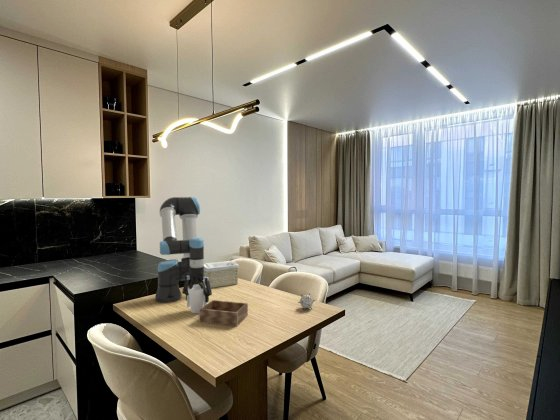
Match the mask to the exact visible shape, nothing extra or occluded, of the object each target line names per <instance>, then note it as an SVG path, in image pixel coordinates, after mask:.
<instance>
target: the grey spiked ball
mask: <svg viewBox="0 0 560 420" xmlns="http://www.w3.org/2000/svg"><path fill="white" fill-rule="evenodd" d="M300 296H301V298H300V299H299V301H298V302H297V304H300V306H301V307H302V310H303V311H304V310H305V309H311V310H312V309H313V308H312V306H313V304H314V302H316V300H314V299H313V298H312V296H311V294H310V293H308V294H300Z"/></svg>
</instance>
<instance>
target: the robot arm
mask: <svg viewBox="0 0 560 420" xmlns="http://www.w3.org/2000/svg"><path fill="white" fill-rule="evenodd" d="M200 213H201V208H200V202H199V199H198V198H197V197H192V196H188V197H187V196H184V197H183V196H181V197H180V196H179V197H178V196H174V197H169V198H167V199H166V200H165V201H163V203H162V204H161V205H160V208H159V216H160V217H161V227H162V228H161V229H162V231H161V232H162V241H160V242H159V253H160V255H161V256H163V255H164V256H165V255H166V256H168V255H169V256H170V255H179V254H180V255H182V254H183V256H182V257H181V258H180V260H181V261H179V260H178V259H176V258H175V259H167V260H164V261H160V262H159V263H158V265H157V289H156V293H155V296H154V300H155V301H156V302H158V303H173V302H175V301H178V300H179V301H180V299H182V294H184V295H185V301H186V308H191V307H190V300H189V293H188V288H189V289H192V287H193V286H194V285H199V286H200V287H201V289H203V293H204V295H205V296H204V306H205V305H207V304H208V303H209V302H210V299H209V297H210V296H212V294H213V293H212V288H211V287H210V283H209V277H204V267H203V266H204V263H205V259H204V258H205V256H204V255H205V252H204V251H205V250H204V249H205V247H204V246H205V243H204V238H202V237H197V224H196V223H197V222H196V219H197V218H198V215H200ZM176 216H179V219H180V220H181V223H182V225H181V227H182V229H181V230H182V239H181V240H178V236H177V229H176V227H177V226H176ZM179 281H180V282H181V281H184V283H183V288H182V291H181V290H180V286H179ZM204 281H205V284H204ZM205 286H206V287H205Z"/></svg>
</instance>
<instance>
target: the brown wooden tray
mask: <svg viewBox="0 0 560 420" xmlns="http://www.w3.org/2000/svg"><path fill="white" fill-rule="evenodd" d="M248 305H249V304H248V302H236V301H229V300H228V301H226V300H215V299H212V300H211V301H208V302H207V305H205V306H204V307H202V308H201V309H200V313H199V323H203V324H205V323H206V324H212V325H221V326H222V325H223V326H231V327H238V326H240V324H241V323H242V322H243V321H244V320H245V319H246V318H247V317H248V315H249V313H248V312H249V311H248V310H249V309H248V308H249V307H248Z"/></svg>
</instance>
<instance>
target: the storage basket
mask: <svg viewBox="0 0 560 420" xmlns="http://www.w3.org/2000/svg"><path fill="white" fill-rule="evenodd" d="M203 267H204V277H209V283H210V287H211V289H213V288H219V287H227V286H232V285H233V286H234V285H237V284H238V282H239V280H238V279H239V269H240V268H239V267H240V265H239V263H238V262H235V261H234V260H227V261H217V262H206V263H205V262H204V266H203ZM203 281H204V280H203ZM204 285H205V281H204Z"/></svg>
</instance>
